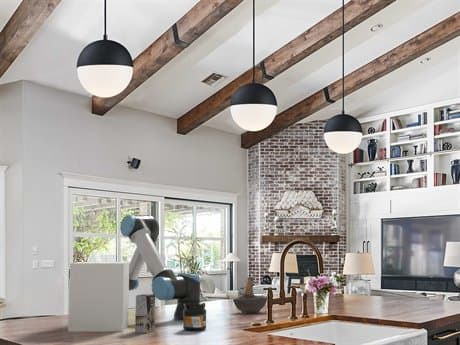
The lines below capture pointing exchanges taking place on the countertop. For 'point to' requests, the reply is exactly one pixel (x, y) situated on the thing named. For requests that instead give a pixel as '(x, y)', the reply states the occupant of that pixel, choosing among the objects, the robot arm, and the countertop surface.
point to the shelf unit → (98, 296)
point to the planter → (250, 300)
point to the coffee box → (145, 313)
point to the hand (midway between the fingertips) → (108, 271)
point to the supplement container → (194, 316)
